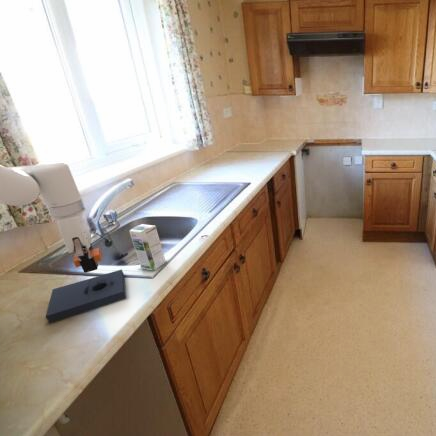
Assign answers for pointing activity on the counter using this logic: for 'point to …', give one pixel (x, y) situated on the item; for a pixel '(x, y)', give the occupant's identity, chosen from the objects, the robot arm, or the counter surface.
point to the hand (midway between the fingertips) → (91, 265)
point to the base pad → (86, 295)
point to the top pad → (94, 253)
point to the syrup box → (147, 246)
